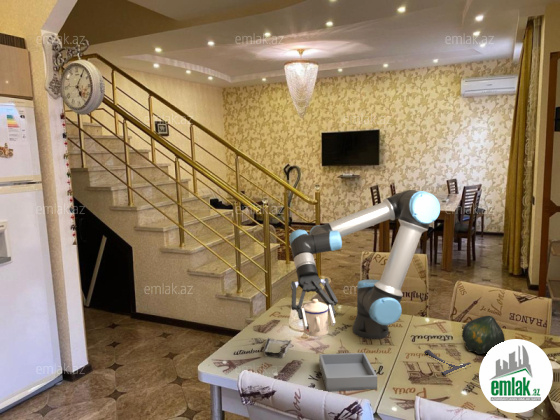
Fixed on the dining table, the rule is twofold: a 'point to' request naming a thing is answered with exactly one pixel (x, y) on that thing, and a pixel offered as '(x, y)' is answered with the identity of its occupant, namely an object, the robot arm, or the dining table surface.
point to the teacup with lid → (316, 318)
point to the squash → (482, 334)
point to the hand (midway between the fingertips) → (319, 326)
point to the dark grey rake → (446, 363)
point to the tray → (347, 372)
